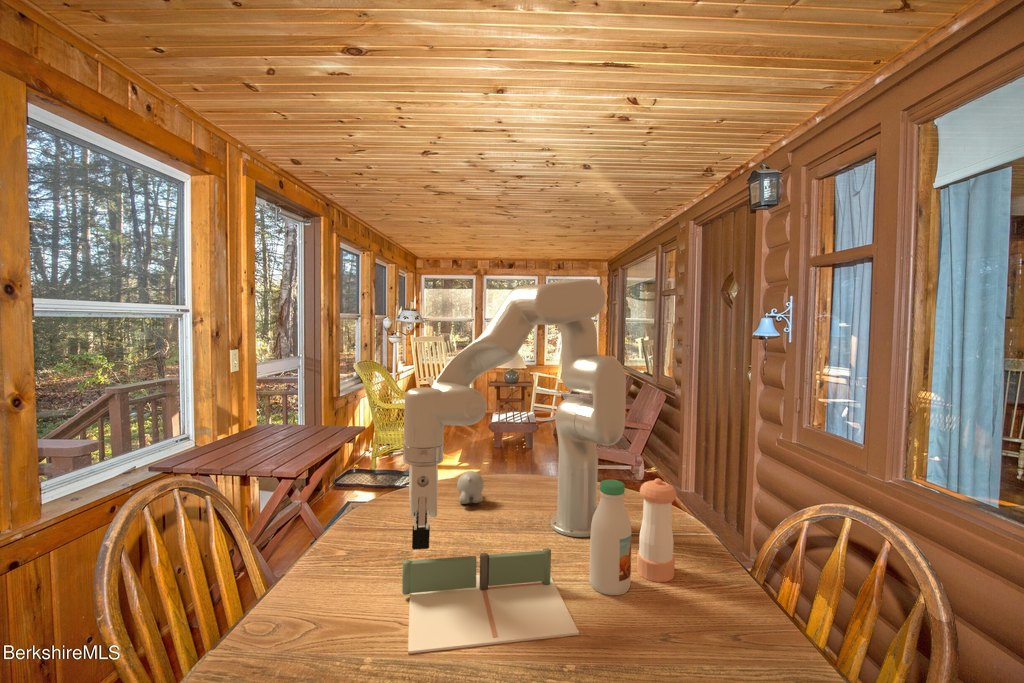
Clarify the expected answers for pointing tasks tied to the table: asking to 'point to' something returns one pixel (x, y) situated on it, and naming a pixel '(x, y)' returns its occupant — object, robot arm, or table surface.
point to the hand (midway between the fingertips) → (420, 547)
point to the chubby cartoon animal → (470, 487)
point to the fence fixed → (515, 568)
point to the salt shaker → (656, 532)
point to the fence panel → (438, 574)
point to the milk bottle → (610, 542)
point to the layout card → (486, 616)
